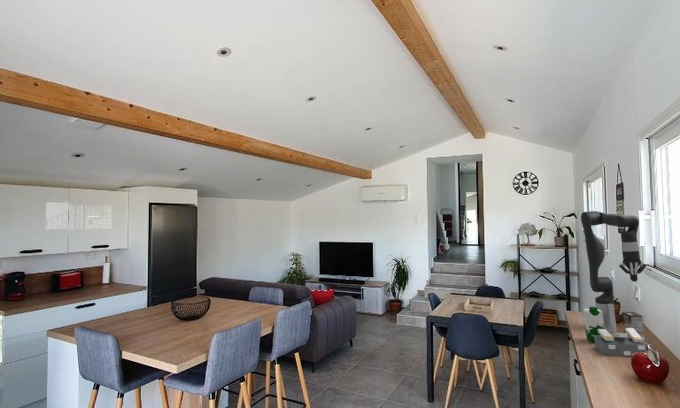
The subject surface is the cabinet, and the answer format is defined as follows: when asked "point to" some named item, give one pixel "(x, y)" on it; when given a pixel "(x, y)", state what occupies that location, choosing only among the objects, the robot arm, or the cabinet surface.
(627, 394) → the cabinet surface
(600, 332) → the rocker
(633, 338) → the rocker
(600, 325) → the milk carton
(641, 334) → the coffee box
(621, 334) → the block
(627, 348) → the switch unit
